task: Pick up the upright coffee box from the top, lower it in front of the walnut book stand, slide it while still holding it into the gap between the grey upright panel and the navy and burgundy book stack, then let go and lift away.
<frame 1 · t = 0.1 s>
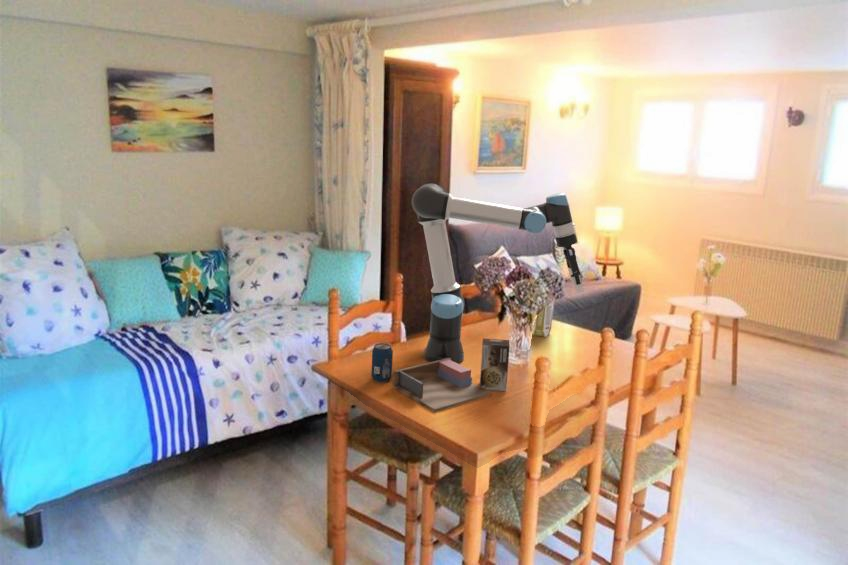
hand: (577, 287, 242), 28 cm above the table, tool tilted 20°, fingers open, 13 cm apart
book stand: (441, 391, 209), on the table
grey upright panel: (410, 384, 204), point 4 cm above the table
books: (454, 373, 216), point 4 cm above the table
soda can: (381, 379, 216), on the table
coffee box: (492, 387, 215), on the table
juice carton: (540, 334, 275), on the table
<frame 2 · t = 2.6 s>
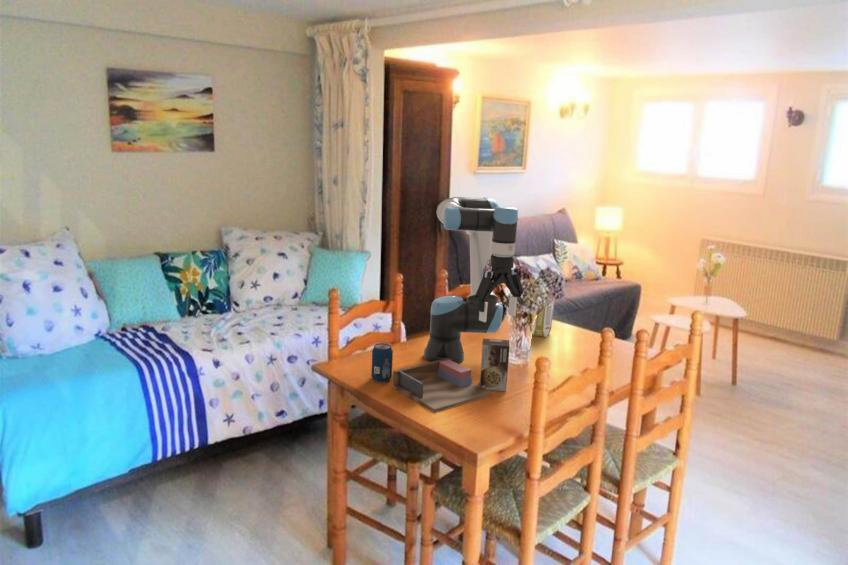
hand: (497, 318, 209), 24 cm above the table, tool pointing down, fingers open, 13 cm apart
nothing on the table moved.
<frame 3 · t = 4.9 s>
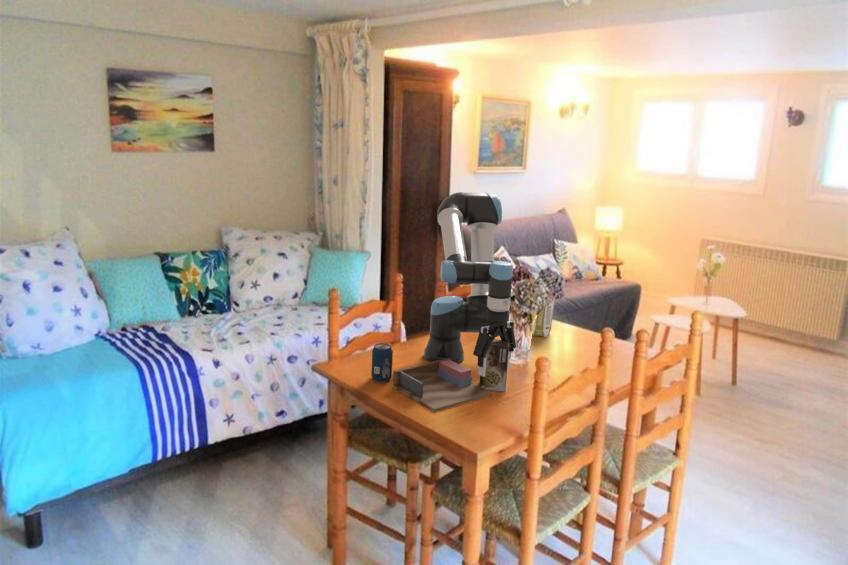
hand: (493, 371, 213), 5 cm above the table, tool pointing down, fingers closed on coffee box, 10 cm apart
coffee box: (492, 387, 215), on the table, touching gripper
everything else where it was.
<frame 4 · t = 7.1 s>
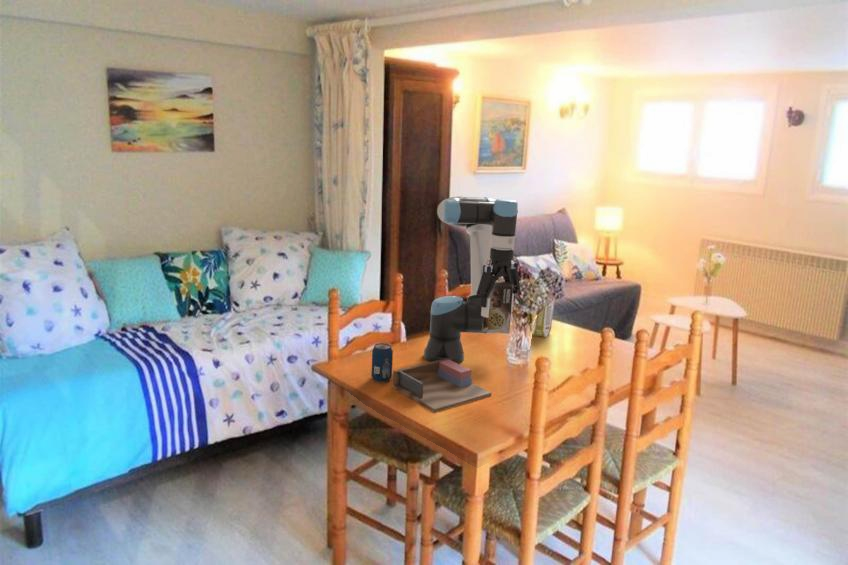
hand: (496, 314, 208), 26 cm above the table, tool pointing down, fingers closed on coffee box, 10 cm apart
coffee box: (495, 330, 210), point 20 cm above the table, touching gripper
everything else where it was.
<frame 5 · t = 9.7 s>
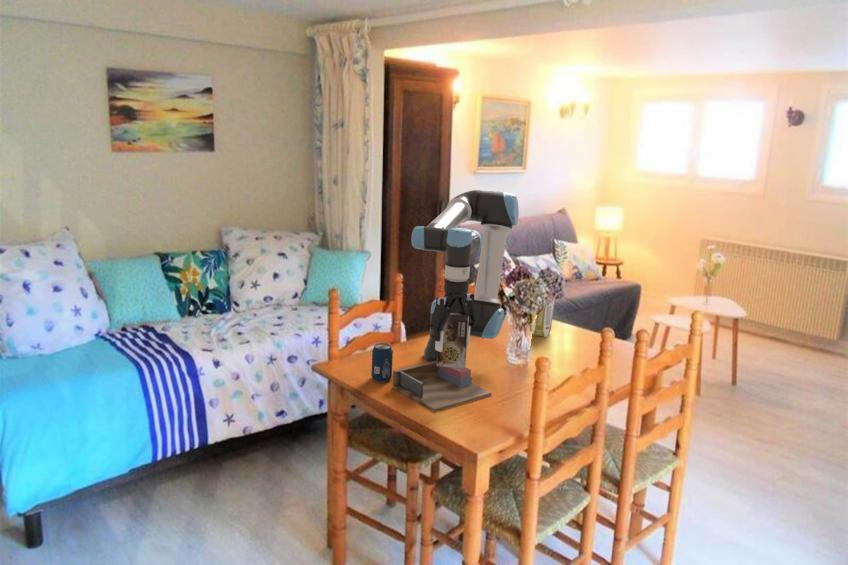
hand: (452, 347, 199), 18 cm above the table, tool pointing down, fingers closed on coffee box, 10 cm apart
coffee box: (451, 364, 200), point 12 cm above the table, touching gripper
everything else where it was.
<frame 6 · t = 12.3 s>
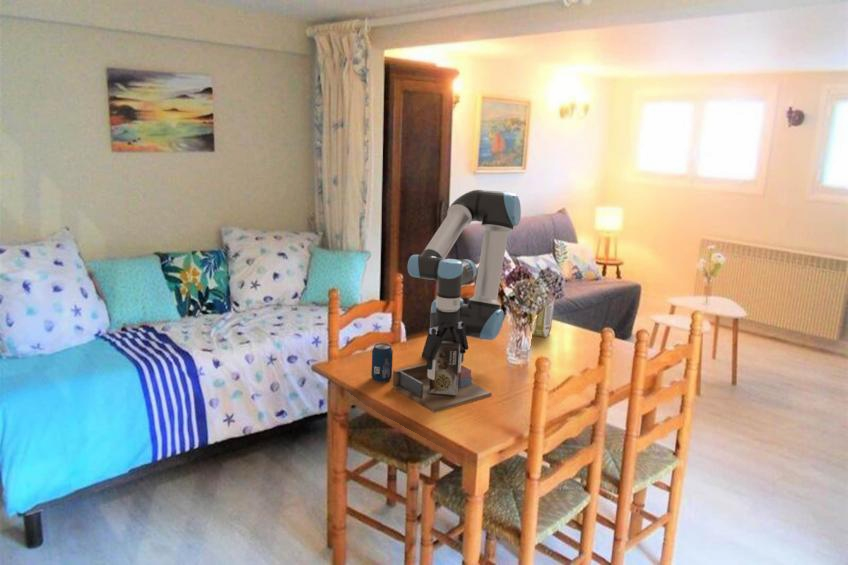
hand: (444, 374, 204), 7 cm above the table, tool pointing down, fingers closed on coffee box, 10 cm apart
coffee box: (443, 391, 205), point 1 cm above the table, touching gripper
everything else where it was.
when the fingers open (7 cm above the table, at t = 14.5 s): coffee box stays where it is, resting on book stand.
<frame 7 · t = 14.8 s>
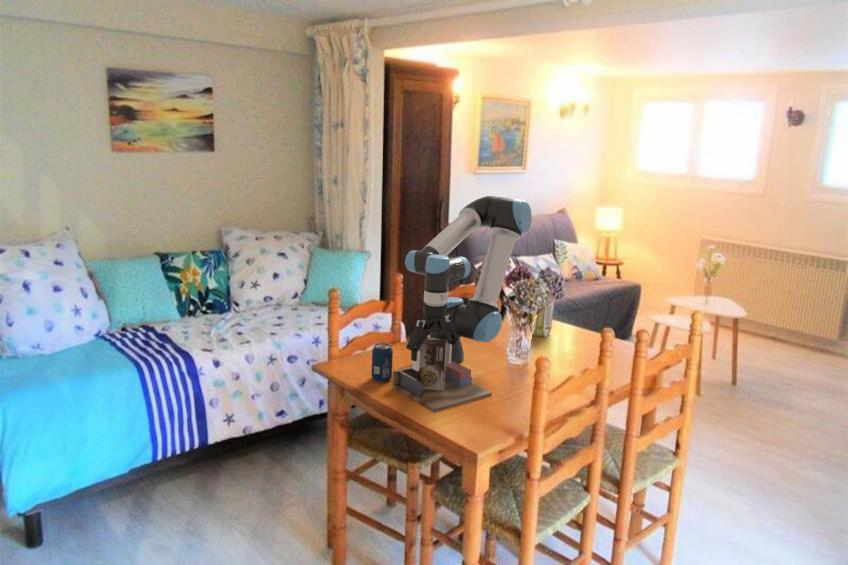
hand: (431, 365, 208), 8 cm above the table, tool pointing down, fingers open, 13 cm apart
coffee box: (430, 386, 210), point 1 cm above the table, touching book stand
everything else where it was.
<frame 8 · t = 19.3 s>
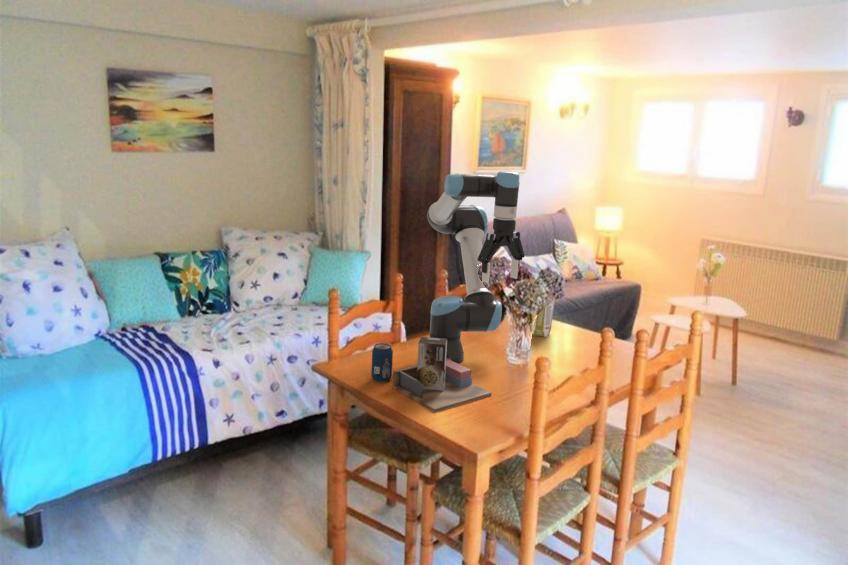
hand: (499, 280, 217), 35 cm above the table, tool pointing down, fingers open, 13 cm apart
nothing on the table moved.
at the end: coffee box inside the target area (0.8 cm from its centre), point 0.8 cm above the table; coffee box tilted 0°; the gripper is holding nothing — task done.
